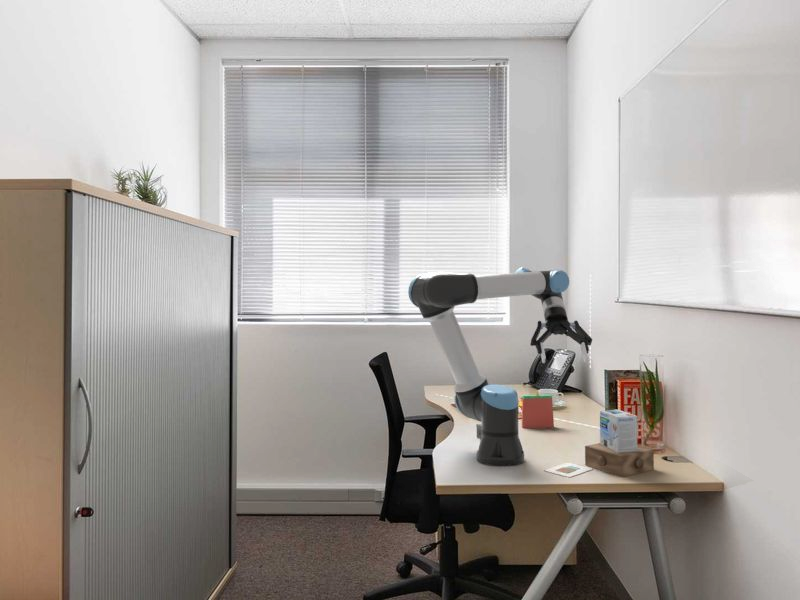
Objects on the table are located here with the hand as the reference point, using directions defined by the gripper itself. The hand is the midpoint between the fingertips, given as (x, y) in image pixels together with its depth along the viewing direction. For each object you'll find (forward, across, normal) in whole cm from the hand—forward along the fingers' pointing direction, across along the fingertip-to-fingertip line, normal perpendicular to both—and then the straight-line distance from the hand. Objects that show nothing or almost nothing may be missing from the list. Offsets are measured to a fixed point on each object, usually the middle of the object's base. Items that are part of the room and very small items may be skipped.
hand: (565, 360), depth 199 cm
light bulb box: (+27, -13, -9) cm, 32 cm away
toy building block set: (-19, +2, -65) cm, 67 cm away
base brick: (+31, -13, -13) cm, 36 cm away
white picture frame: (+33, +3, -11) cm, 35 cm away
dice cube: (+4, +23, -41) cm, 47 cm away
